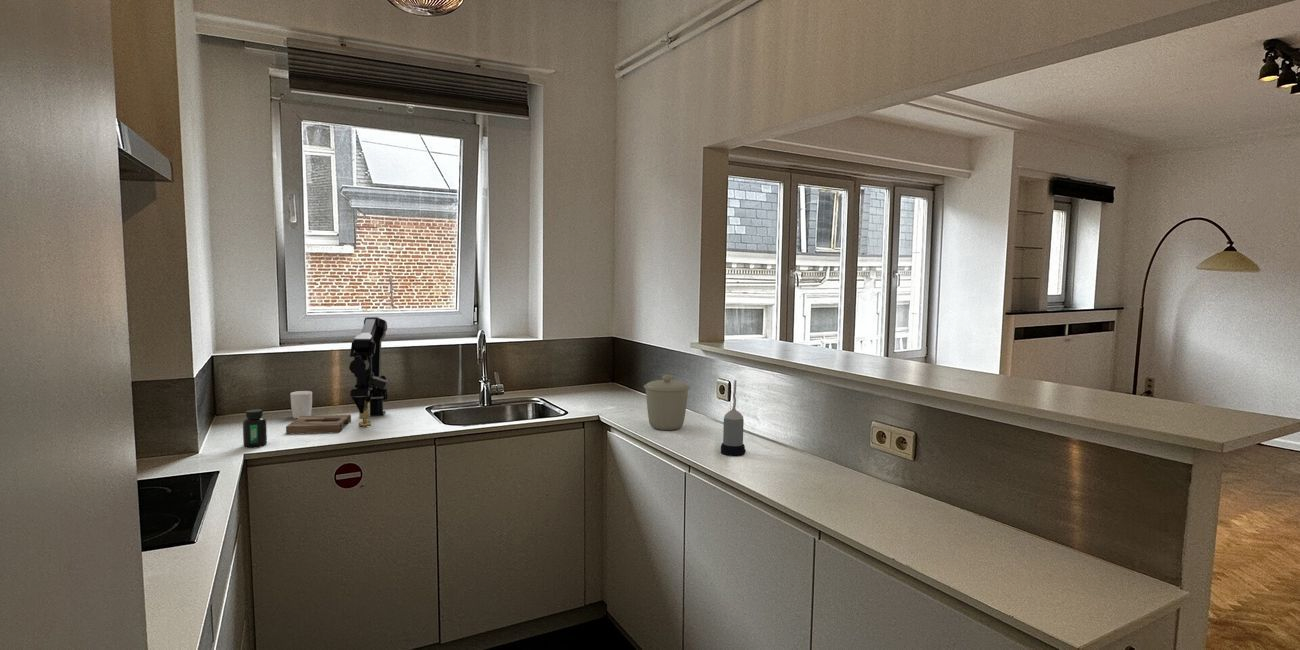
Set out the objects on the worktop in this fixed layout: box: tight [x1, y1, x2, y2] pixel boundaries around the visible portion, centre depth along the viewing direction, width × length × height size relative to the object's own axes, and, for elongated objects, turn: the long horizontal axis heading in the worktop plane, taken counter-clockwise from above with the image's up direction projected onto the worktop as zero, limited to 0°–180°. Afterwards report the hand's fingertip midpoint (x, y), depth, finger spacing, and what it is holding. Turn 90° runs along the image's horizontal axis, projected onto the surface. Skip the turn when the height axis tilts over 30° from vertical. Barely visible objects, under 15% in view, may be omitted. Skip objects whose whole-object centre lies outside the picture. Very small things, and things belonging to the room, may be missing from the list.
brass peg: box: [358, 402, 372, 428], centre depth 252 cm, size 4×4×9 cm
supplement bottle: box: [242, 408, 268, 449], centre depth 222 cm, size 7×7×12 cm
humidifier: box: [720, 379, 747, 457], centre depth 221 cm, size 8×8×25 cm
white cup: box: [289, 390, 313, 419], centre depth 265 cm, size 8×8×10 cm
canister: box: [643, 374, 691, 431], centre depth 257 cm, size 18×18×21 cm
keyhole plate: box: [285, 413, 352, 435], centre depth 249 cm, size 18×18×3 cm
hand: (364, 410), depth 252 cm, fingers open, 9 cm apart
